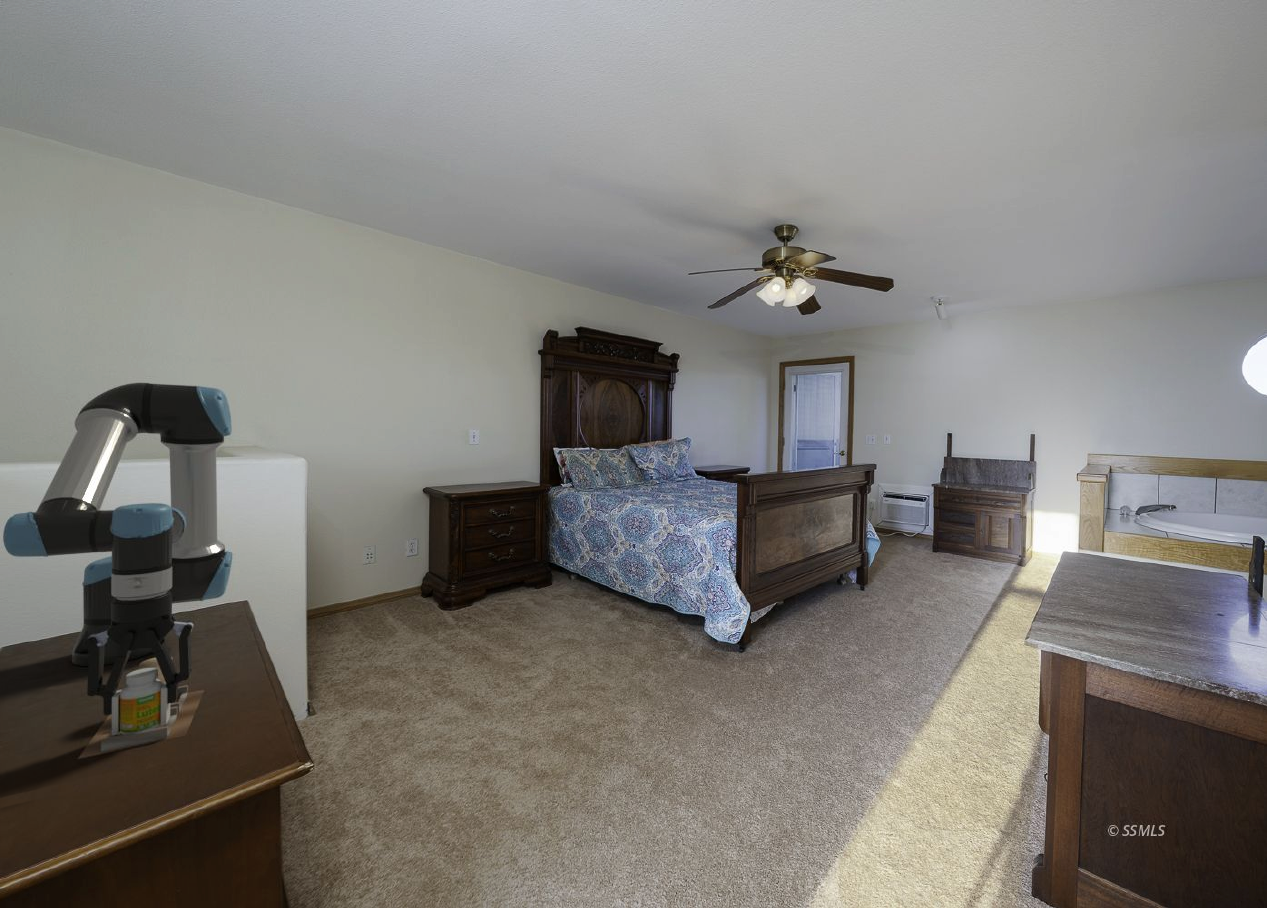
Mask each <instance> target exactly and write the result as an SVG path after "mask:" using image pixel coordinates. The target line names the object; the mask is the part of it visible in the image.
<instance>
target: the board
mask: <svg viewBox="0 0 1267 908" xmlns="http://www.w3.org/2000/svg"><path fill="white" fill-rule="evenodd" d="M204 692H205V689H201V690H195V691H190V692H189V685H188V684H185V685H180V686H178V697H177V699H176V701H175V702H174V703H170V718H169V720H168V722H167V724H166V725H161V724H160V725H159V726H158V727H156V728H154V729H149V730H144V731H140V732H135V733H130V734H125V735H122V734H121V733H120V732H119V733H118V734H117V735H112V714H111V715H107V718H105V720H104V722H103V723H101V726H100V727H99V728H98V730H97V732H96V733H94V736H93V737H92V738H91V740H90V741H89V743H87V745H86V747H85V748H84V749H83V751H82V752H81V754H80V755H79V757H78V758H77V760H80V759H86V758H89V757H94V756H99V755H103V754H107V753H112V752H117V751H122V750H125V749H130V748H131V749H132V748H137V747H139V746H144V745H149V744H153V743H158V742H163V741H168V740H172V739H178V738H181V737H182V738H183V737H185V736H186V735H187V733H188V730H189V728H190V725H191V723H192V721H193V719H194V716H195V713H196V711H197V710H198V707H199V705H200V702H201V700H202V697H203V695H204Z"/></svg>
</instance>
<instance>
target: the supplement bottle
mask: <svg viewBox="0 0 1267 908" xmlns="http://www.w3.org/2000/svg"><path fill="white" fill-rule="evenodd" d="M157 678H158V669H157V668H144V669H139V668H138V669H136V670H133V671H131V672H129V673H127V674H126V676H125V685H126V686H124V687H123V688H122V689H121V690H122V691H121V693H120V733H121V734H122V735H125V734H130V733H135V732H140V731H144V730H149V729H154V728H156V727H158V726H159V725H160V724H161V688H162V686H163V682H162V681H160V680H158V679H157Z"/></svg>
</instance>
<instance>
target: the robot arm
mask: <svg viewBox="0 0 1267 908" xmlns="http://www.w3.org/2000/svg"><path fill="white" fill-rule="evenodd" d="M80 409H81V410H80V411H79V412H78V415H76V416H77V417H75V420H74V428H75V430H76V433H75V435H74V437H73V439H72V441H71V443H70V445H69V446H68V449H67V451H66V452H65V455H64V456H63V459H62V460H61V463H60V465H59V467H58V468H57V470H56V472H55V474H54V476H53V477H52V480H51V482H50V484H49V486H48V487H47V489H46V492H45V494H44V496H43V497H42V500H41V502H39V503H40V504H39V505H38V508H37V510H36V511H35V512H33V511H28V512H20V513H16V514H13V515H12V516H10V517H9V519H7V521H6V523H5V525H4V528H3V534H2V535H3V537H2V539H3V546H4V548H5V550H6V552H7V553H8V554H9V555H11V556H13V557H18V558H19V557H20V558H24V557H25V558H28V557H31V558H32V557H34V558H35V557H36V558H37V557H46V558H47V557H50V556H51V557H53V556H64V555H77V554H87V553H89V554H90V553H108V552H110V553H111V555H110V556H108V557H107V556H106V557H103V558H100V559H97V560H94V561H92V562H91V563H89V564H87V565H86V567H85V568H84V571H83V573H84V574H83V581H82V583H81V584H82V586H83V587H82V588H83V589H82V590H83V592H82V596H83V597H82V598H83V599H82V600H83V605H82V606H83V608H82V609H83V627H82V628H81V631H80V634H79V636H78V637H77V640H76V642H75V645H74V647H73V649H72V653H71V663H72V664H74V665H76V666H81V667H88V669H87V670H88V671H87V688H86V693H87V694H86V695H87V696H88V697H95V696H99V697H101V698H102V700H103V701H102V702H103V706H102V707H103V709H102V710H103V715H104V716H109V715H111V714H112V735H117V734H118V733H119V732H120V693H121V691H122V689H118V687H119V684H120V682H121V679H122V676H123V673H124V671H125V668H126V666H127V663H128V661H130V660H135V659H138V658H141V657H143V656H146V655H147V656H148V654H151V653H153V654H154V658H156V660H157V662H158V665H159V667H160V670H161V672H162V674H163V677H164V679H165V683H164V684H163V686H162V688H161V725H166V724H167V722H168V720H169V718H170V703H174V702H175V701H176V699H177V697H178V687H179V683H181V682H183V681H187V680H188V679H189V678H190V676H191V674H192V672H193V667H192V663H193V662H192V645H191V643H192V640H191V639H192V638H191V633H192V632H193V629H194V627H195V622H194V621H192V620H189V621H187V622H183V621H177V620H176V618H175V617H174V616H173V604H180V603H181V604H182V603H190V602H191V603H192V602H204V601H207V600H212V599H219V598H220V597H222V596H224V594H225V593H226V590H227V587H228V584H229V580H230V579H229V578H230V573H231V570H232V569H231V567H232V563H233V552H231V551H229V550H227V551H226V546H225V543H223V542H222V541H220V540H219V539H218V501H217V500H218V499H217V498H218V497H217V496H218V495H217V493H218V491H217V489H218V488H217V448H220V446H221V445H223V444H224V443H225V437H228V436H231V434H232V431H233V427H232V416H231V411H230V405H229V400H228V397H227V395H226V394H225V392H224V391H223V390H222V389H219V388H216V387H207V386H201V385H184V384H182V385H181V384H166V383H165V384H164V383H162V384H161V383H149V382H133V383H126V384H122V385H119V386H115V387H113V388H110V389H107V390H106V391H104V392H102V393H101V394H98V395H97V396H95V397H94V398H93V399H91V400H89V401H88V402H87V403H86V404H85V405H84V406H83V407H82V408H80ZM138 434H151V435H152V434H153V435H154V434H155V435H156V434H157V435H158V434H159V436H160V443H161V444H162V445H163V446H165V447H167V448H168V449H169V476H170V477H169V480H170V481H169V482H170V485H169V486H170V504H167V503H166V504H165V503H157V502H155V503H152V502H151V503H150V502H149V503H148V502H147V503H134V504H133V503H132V504H127V505H120V506H118V507H116V508H115V509H112V510H111V509H108V510H106V509H105V510H102V509H101V507H102V506H103V503H104V500H105V498H106V495H107V493H108V489H109V487H110V486H111V483H112V480H113V477H114V476H115V472H116V471H117V468H118V465H119V462H120V461H121V458H122V455H123V453H124V452H125V451H124V450H125V448H126V445H127V444H128V442H132V440H134V439H135V437H137V435H138ZM171 630H174V631H175V635H176V636H178V637H179V638H178V655H179V657H178V659H179V672H178V671H177V668H176V666H175V663H174V660H173V657H172V656H171V654H170V650H169V649H168V645H167V641H166V637H167V635H168V634H169V633H170V632H171ZM171 657H172V658H171ZM112 664H113V666H112V668H111V671H110V674H109V676H108V678H107V682H106V684H103V683H104V667H105V666H104V665H112ZM117 689H118V690H117Z"/></svg>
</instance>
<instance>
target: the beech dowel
mask: <svg viewBox="0 0 1267 908" xmlns="http://www.w3.org/2000/svg"><path fill="white" fill-rule="evenodd" d="M171 658H172V659H173V657H172V656H171ZM144 668H157V669H158V678H157V679H158V680H160V681H162V682H163V684H164V683H165V679H164V677H163V674H162V672H161V670H160V667H159V665H158V662H157V660H156V657H152V658H148V659H146V660H143V661H141V662H139V664H138V670H139V669H144Z"/></svg>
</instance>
